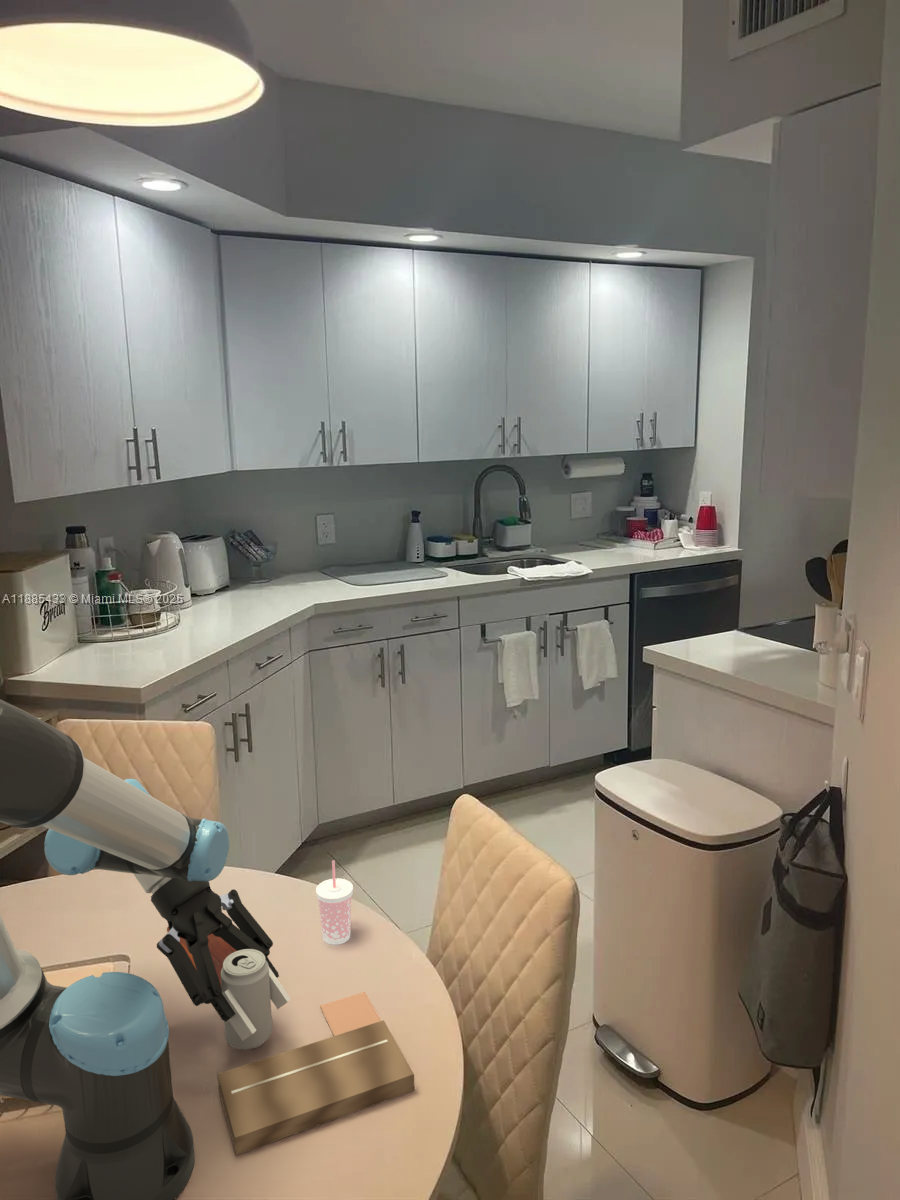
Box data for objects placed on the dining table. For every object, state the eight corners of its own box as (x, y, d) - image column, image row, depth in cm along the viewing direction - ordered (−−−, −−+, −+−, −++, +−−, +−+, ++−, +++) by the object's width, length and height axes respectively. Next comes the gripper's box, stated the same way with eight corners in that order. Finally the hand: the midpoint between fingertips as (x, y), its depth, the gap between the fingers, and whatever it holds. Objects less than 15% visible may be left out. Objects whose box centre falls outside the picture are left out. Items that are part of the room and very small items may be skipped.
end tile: (334, 1038, 122) (334, 1036, 122) (320, 1007, 128) (320, 1005, 128) (381, 1023, 125) (381, 1021, 125) (364, 993, 131) (364, 991, 131)
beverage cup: (341, 951, 141) (338, 874, 138) (310, 941, 144) (306, 865, 141) (361, 931, 146) (359, 856, 143) (331, 921, 149) (328, 848, 146)
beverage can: (247, 1014, 125) (243, 941, 122) (282, 1031, 122) (277, 955, 119) (215, 1042, 119) (209, 966, 117) (250, 1060, 116) (245, 982, 114)
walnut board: (236, 1155, 104) (234, 1137, 103) (218, 1089, 113) (217, 1073, 113) (414, 1090, 113) (413, 1073, 112) (384, 1035, 123) (383, 1019, 122)
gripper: (209, 860, 132) (298, 988, 128) (104, 926, 116) (202, 1076, 112) (233, 837, 128) (326, 968, 124) (128, 902, 112) (230, 1056, 108)
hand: (267, 1019), depth 118 cm, fingers closed on beverage can, 6 cm apart
